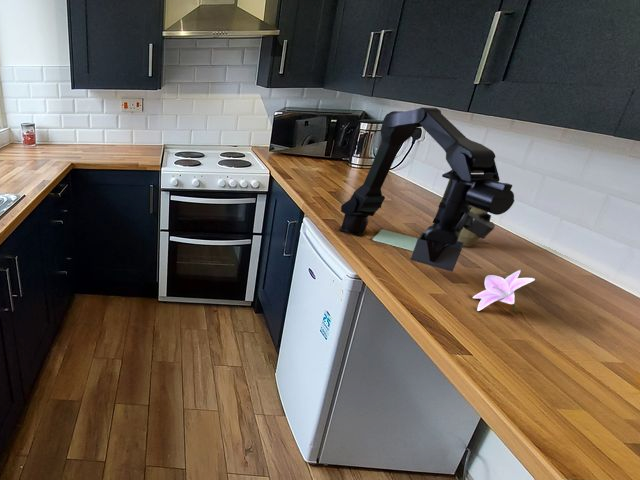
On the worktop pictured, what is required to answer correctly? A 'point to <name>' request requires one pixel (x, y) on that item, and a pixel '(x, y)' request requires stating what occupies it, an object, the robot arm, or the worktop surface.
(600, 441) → the worktop surface
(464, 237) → the squeeze bottle
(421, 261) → the bin
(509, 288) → the lily
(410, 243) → the mat
